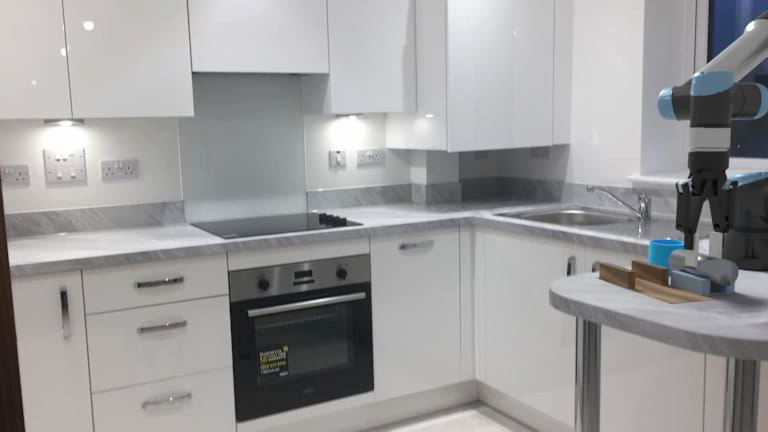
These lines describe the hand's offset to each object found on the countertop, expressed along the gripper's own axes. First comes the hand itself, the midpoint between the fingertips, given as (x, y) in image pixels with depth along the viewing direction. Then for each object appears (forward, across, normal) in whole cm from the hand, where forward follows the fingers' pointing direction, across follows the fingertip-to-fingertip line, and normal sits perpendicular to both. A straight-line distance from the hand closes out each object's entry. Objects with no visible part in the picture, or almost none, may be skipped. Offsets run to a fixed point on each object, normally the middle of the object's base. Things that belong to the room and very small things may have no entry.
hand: (703, 264), depth 142 cm
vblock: (+7, 0, 0) cm, 7 cm away
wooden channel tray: (+7, +9, -5) cm, 12 cm away
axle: (+3, +1, 0) cm, 3 cm away
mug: (+7, -7, -18) cm, 21 cm away
